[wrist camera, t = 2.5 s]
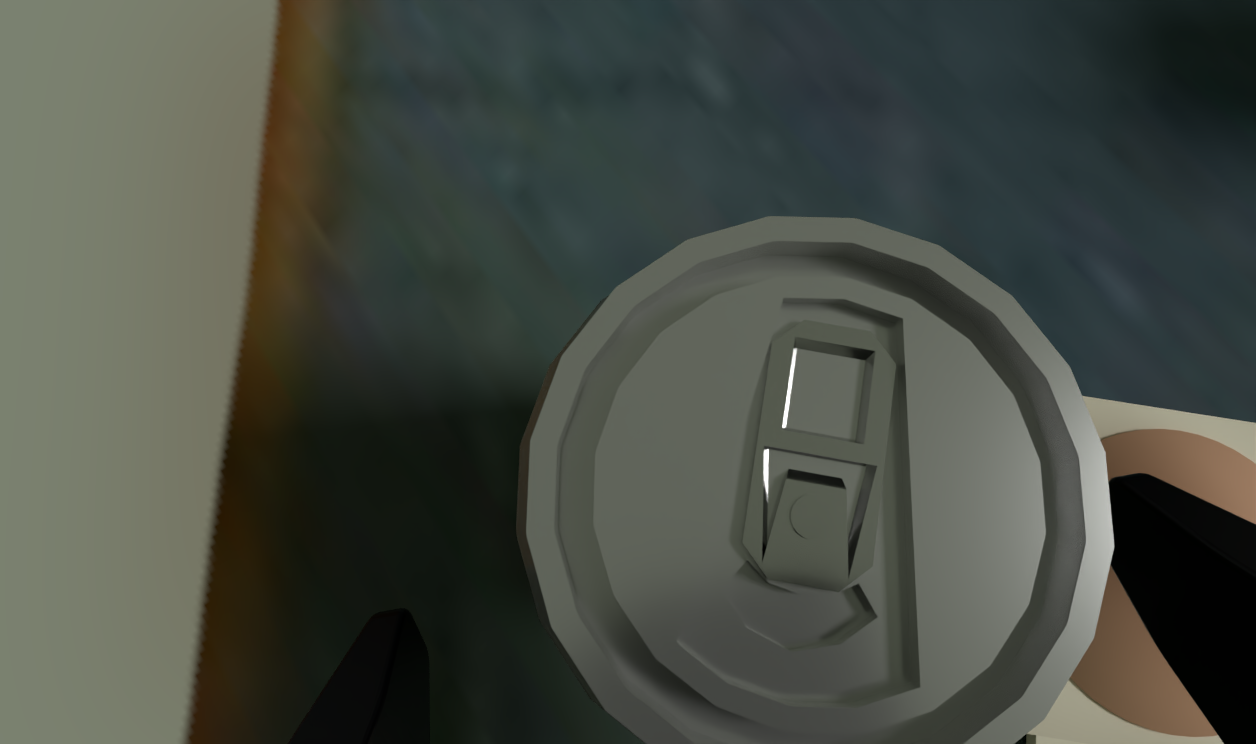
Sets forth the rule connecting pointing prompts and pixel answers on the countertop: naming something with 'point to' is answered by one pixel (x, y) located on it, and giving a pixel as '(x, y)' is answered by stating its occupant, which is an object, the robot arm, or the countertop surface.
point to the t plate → (1122, 648)
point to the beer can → (815, 496)
